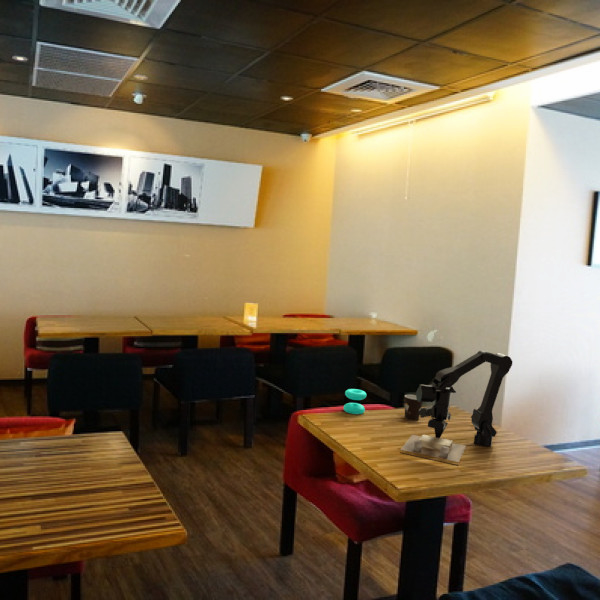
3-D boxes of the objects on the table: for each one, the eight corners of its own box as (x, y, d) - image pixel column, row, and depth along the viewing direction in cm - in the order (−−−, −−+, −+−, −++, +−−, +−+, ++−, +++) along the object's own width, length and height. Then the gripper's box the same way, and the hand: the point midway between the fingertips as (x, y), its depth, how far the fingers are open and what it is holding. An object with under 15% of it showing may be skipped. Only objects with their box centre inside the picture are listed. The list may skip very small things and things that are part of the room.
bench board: (465, 449, 251) (467, 437, 251) (458, 466, 231) (459, 453, 230) (411, 438, 259) (413, 426, 259) (399, 453, 239) (401, 440, 238)
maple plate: (452, 446, 248) (452, 440, 248) (448, 452, 241) (449, 446, 240) (422, 440, 252) (422, 434, 252) (418, 445, 245) (418, 439, 245)
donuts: (363, 395, 284) (342, 391, 287) (361, 416, 285) (340, 412, 288) (369, 390, 293) (349, 387, 297) (367, 411, 294) (346, 407, 298)
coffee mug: (422, 421, 285) (425, 400, 284) (403, 419, 286) (406, 398, 285) (418, 414, 297) (420, 394, 296) (400, 412, 297) (402, 392, 296)
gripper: (426, 394, 261) (422, 430, 263) (417, 403, 244) (412, 442, 246) (453, 399, 257) (448, 435, 259) (445, 409, 240) (440, 448, 241)
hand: (437, 440), depth 251 cm, fingers closed
